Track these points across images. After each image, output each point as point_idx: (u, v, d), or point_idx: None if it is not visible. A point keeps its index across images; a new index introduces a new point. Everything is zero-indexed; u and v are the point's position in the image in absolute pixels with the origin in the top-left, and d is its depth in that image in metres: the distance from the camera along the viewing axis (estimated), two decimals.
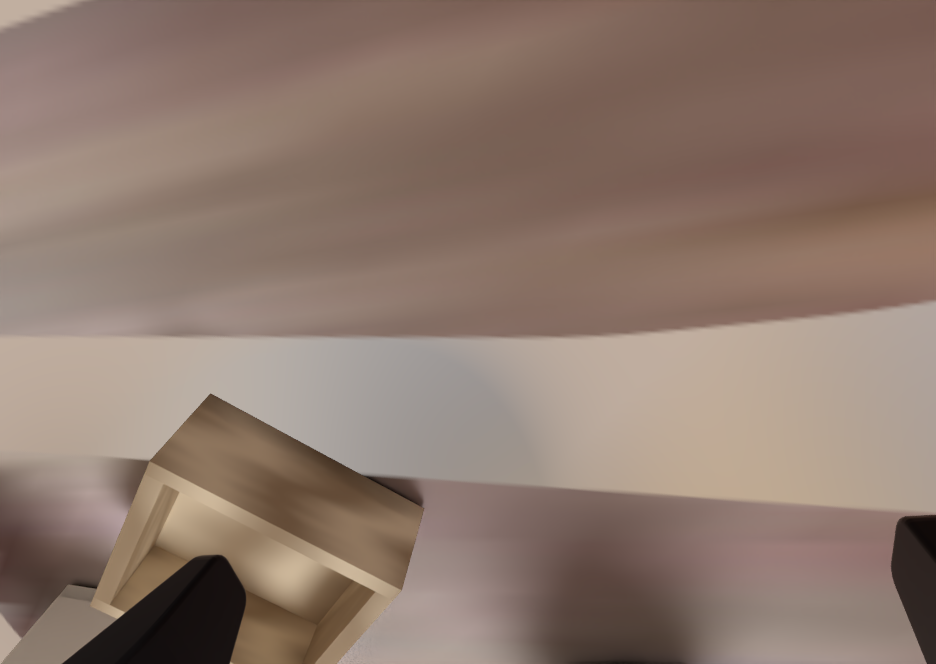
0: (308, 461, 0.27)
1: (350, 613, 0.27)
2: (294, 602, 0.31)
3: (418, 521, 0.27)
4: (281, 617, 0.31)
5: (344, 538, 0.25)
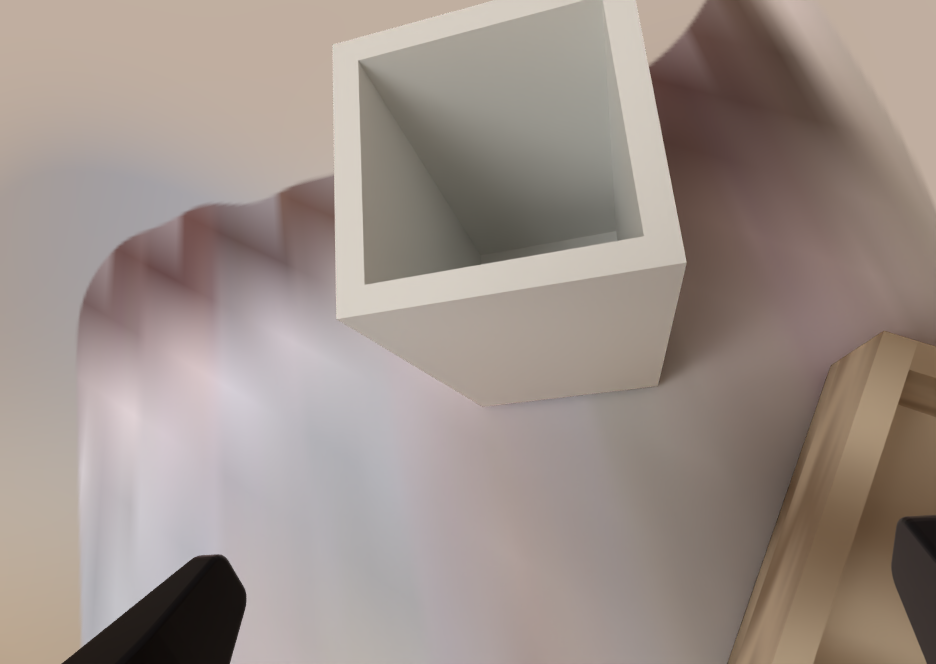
0: None
1: None
2: None
3: None
4: None
5: None
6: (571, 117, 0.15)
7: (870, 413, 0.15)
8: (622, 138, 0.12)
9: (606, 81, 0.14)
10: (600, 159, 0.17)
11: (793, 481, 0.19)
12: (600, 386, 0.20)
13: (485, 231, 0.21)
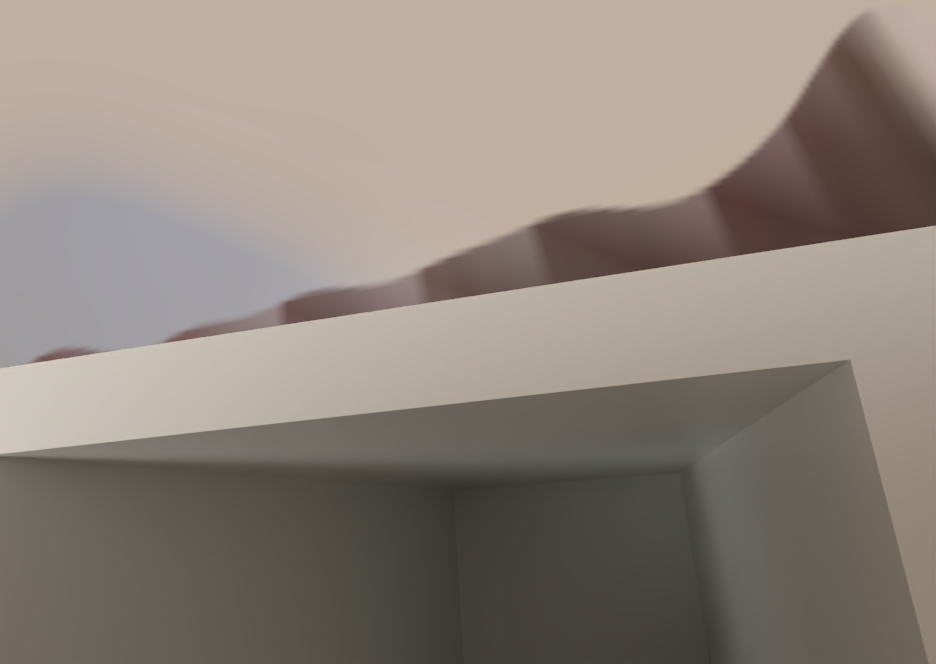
0: None
1: None
2: None
3: None
4: None
5: None
6: (638, 446, 0.06)
7: None
8: None
9: (749, 429, 0.05)
10: (681, 457, 0.08)
11: None
12: None
13: (457, 485, 0.12)
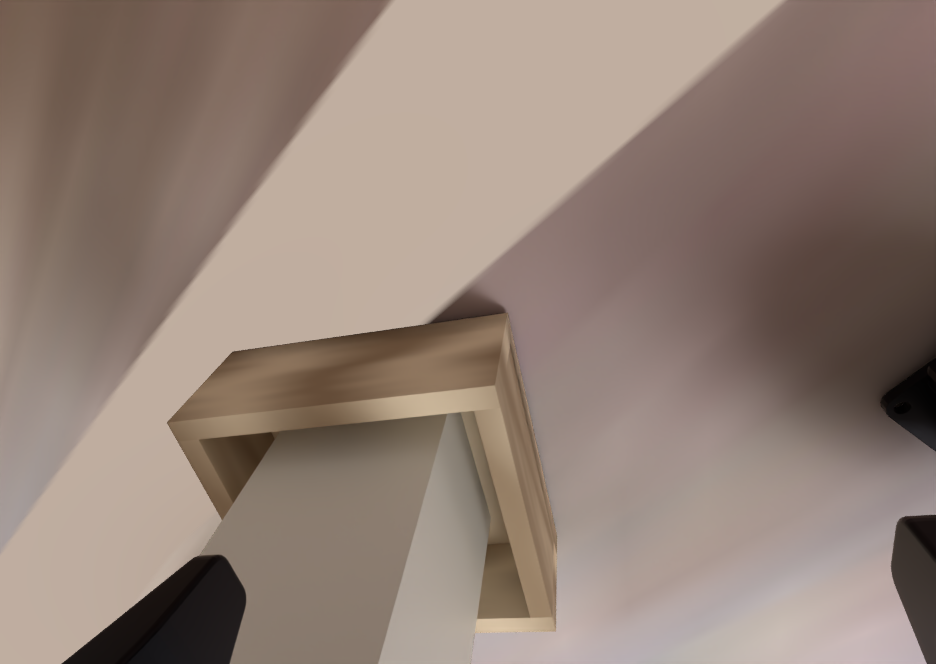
0: (349, 345, 0.22)
1: None
2: (489, 529, 0.25)
3: (502, 325, 0.20)
4: (488, 553, 0.25)
5: (405, 378, 0.19)
6: None
7: None
8: None
9: None
10: None
11: None
12: (461, 455, 0.21)
13: None
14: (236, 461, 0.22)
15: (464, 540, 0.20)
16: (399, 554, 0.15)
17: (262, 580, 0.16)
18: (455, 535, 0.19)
